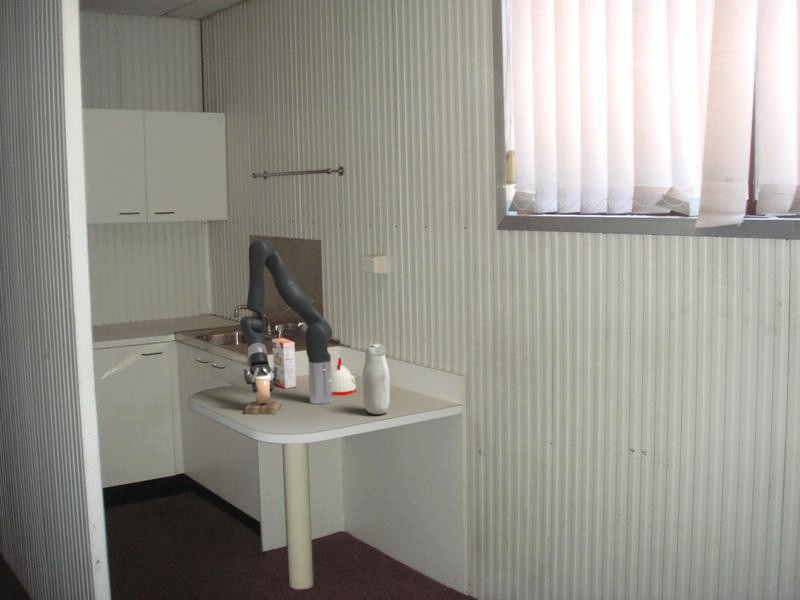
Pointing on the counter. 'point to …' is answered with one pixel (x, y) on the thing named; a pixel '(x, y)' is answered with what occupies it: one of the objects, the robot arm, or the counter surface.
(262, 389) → the terracotta canister
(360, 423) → the counter surface
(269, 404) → the walnut board
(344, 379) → the kitchen timer
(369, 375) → the glass bottle
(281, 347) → the cracker box
